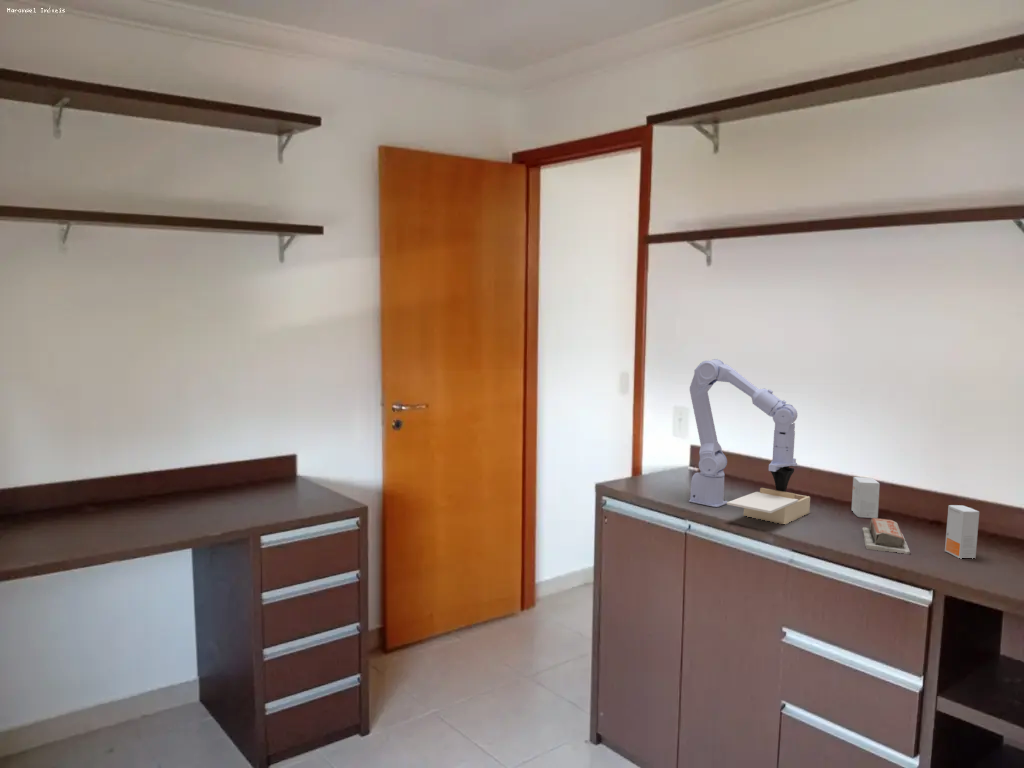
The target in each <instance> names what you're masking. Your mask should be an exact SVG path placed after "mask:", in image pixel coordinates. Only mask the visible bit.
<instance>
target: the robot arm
mask: <svg viewBox="0 0 1024 768" xmlns="http://www.w3.org/2000/svg"><path fill="white" fill-rule="evenodd" d="M693 373H694V374H693V377H692V379H691V383H690V386H689V393H690V399H691V403H692V408H693V413H694V417H695V423H696V424H695V425H696V428H697V432H698V439H699V443H700V447H699V461H698V468H699V472H695V473H694V474H693V475H692V477H691V482H690V499H689V500H688V503H694V504H699V505H704V506H708V507H709V506H710V507H713V508H719V507H722V506H725V505H727V502H729V501H728V500H724V494H725V493H724V492H725V491H724V490H725V477H726V476H725V471H724V469H725V468H726V467H727V464H728V459H727V456H726V455H725V454H724V453H723V450H722V449H723V448H722V446H721V445H720V443H719V441H718V437H717V431H716V427H715V422H714V417H713V412H712V407H711V402H710V396H709V390H711V388H712V387H713V385H714V384H715V383H716V382H721V383H722V382H724V383H729V384H731V385H733V386H734V387H735V388H737V389H738V390H740V391H741V392H743V393H745V395H747V396H749V397H750V398H751V402H752V405H754V406H755V407H756V408H758V409H759V410H761V411H762V412H764V413H765V414H766V415H767V416H769V418H771V417H772V421H773V422H774V430H773V443H772V445H773V447H772V459H771V461H770V463H769V464H768V472H770V473H771V475H772V476H773V481H774V485H775V486H774V487H775V490H777V491H783V492H787V488H788V486H789V481H790V479H791V478H792V475H793V474H794V473H795V468H793V467H796V466H798V463H797V458H794V453H795V452H794V451H795V439H796V438H795V437H796V436H795V435H796V430H795V428H796V423H795V422H796V420H797V419H798V411H797V409H796V408H795V407H794V406H793V404H790V403H789V404H787V401H786V400H784V399H783V400H782V399H780V398H779V397H777V395H775V394H774V391H773V390H772V389H767V388H758V387H757V386H756V385H754V384H753V383H751V381H749V380H748V379H747V378H746V377H745V376H743V375H742V374H741V373H739V372H738V371H736V369H734V368H733V367H732V366H730V365H729V364H727V363H724V362H723V360H720V359H718V358H717V359H716V358H714V359H711V360H709V359H708V360H703V361H701V362H700V363H699V365H697V366H696V368H695V369H694V372H693ZM790 466H791V467H790ZM792 466H793V467H792Z"/></svg>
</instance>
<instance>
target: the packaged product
mask: <svg viewBox="0 0 1024 768" xmlns="http://www.w3.org/2000/svg"><path fill="white" fill-rule="evenodd" d="M870 519H871V520H870V522H869V527H866V526H863V527H862V529H861V530H862V534H863V535H862V536H863V542H864V545H865V548H866V550H871V551H877V550H878V551H877V552H885V551H889V552H888V553H893V552H897V553H896V554H901V553H904V554H903V555H910V553H911V551H910V548H909V546H908V543H907V540H906V538H905V537H904V534H903V533H902V531H901V528H900V526H899V524H898V522H897V521H894V520H892V519H887V518H879V517H878V518H870Z"/></svg>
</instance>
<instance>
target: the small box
mask: <svg viewBox="0 0 1024 768" xmlns="http://www.w3.org/2000/svg"><path fill="white" fill-rule="evenodd" d="M880 485H881V484H880V482H879V481H877V480H876V479H875V478H874V477H861V476H853V477H852V492H851V493H852V494H851V495H852V496H851V497H852V499H851V512H852V511H853V512H852V513H853V515H855V516H856V517H858V518H863V519H864V518H865V519H872V518H878V519H879V507H880V506H879V502H880V487H881V486H880Z"/></svg>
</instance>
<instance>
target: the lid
mask: <svg viewBox="0 0 1024 768" xmlns="http://www.w3.org/2000/svg"><path fill="white" fill-rule="evenodd" d="M795 494H796V493H795V492H794V493H793V492H788V491H786V492H783V491H777V490H776V489H771V488H765V487H760V488H759V491H755V492H754V491H753V492H752V493H749V494H746V495H743V496H740V497H738V498H735V499H733V500H730V501H728V502H727V504H726V505H728V506H731V507H732V506H734V507H738V508H743V509H744V508H747V509H752V510H757V511H762V512H767V513H772V512H775V511H777V510H779V509H782V508H784V507H787V506H789V505H791V504H794V503H796V502H798V499H794V498H795Z"/></svg>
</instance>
